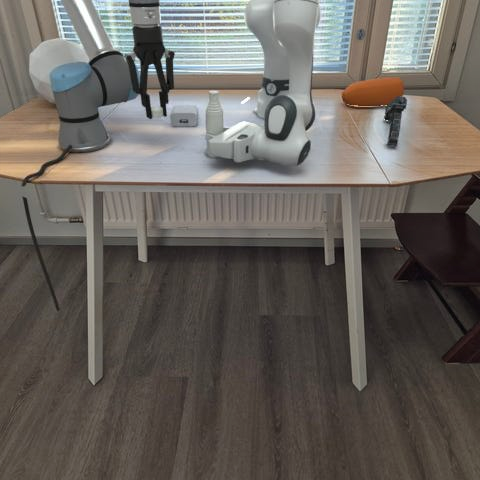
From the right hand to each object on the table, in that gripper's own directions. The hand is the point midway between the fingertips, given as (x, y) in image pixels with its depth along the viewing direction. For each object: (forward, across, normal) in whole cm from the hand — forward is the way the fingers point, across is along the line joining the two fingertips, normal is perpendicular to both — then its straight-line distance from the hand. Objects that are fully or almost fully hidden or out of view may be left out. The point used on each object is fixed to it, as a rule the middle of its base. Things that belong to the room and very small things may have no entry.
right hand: (212, 133), depth 120 cm
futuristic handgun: (-43, -46, +6) cm, 63 cm away
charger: (+25, -22, +6) cm, 34 cm away
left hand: (+14, +8, -5) cm, 17 cm away
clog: (-29, -76, +6) cm, 81 cm away
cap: (+14, +8, -7) cm, 17 cm away
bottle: (-1, 0, +6) cm, 7 cm away
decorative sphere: (+76, -13, +6) cm, 78 cm away
